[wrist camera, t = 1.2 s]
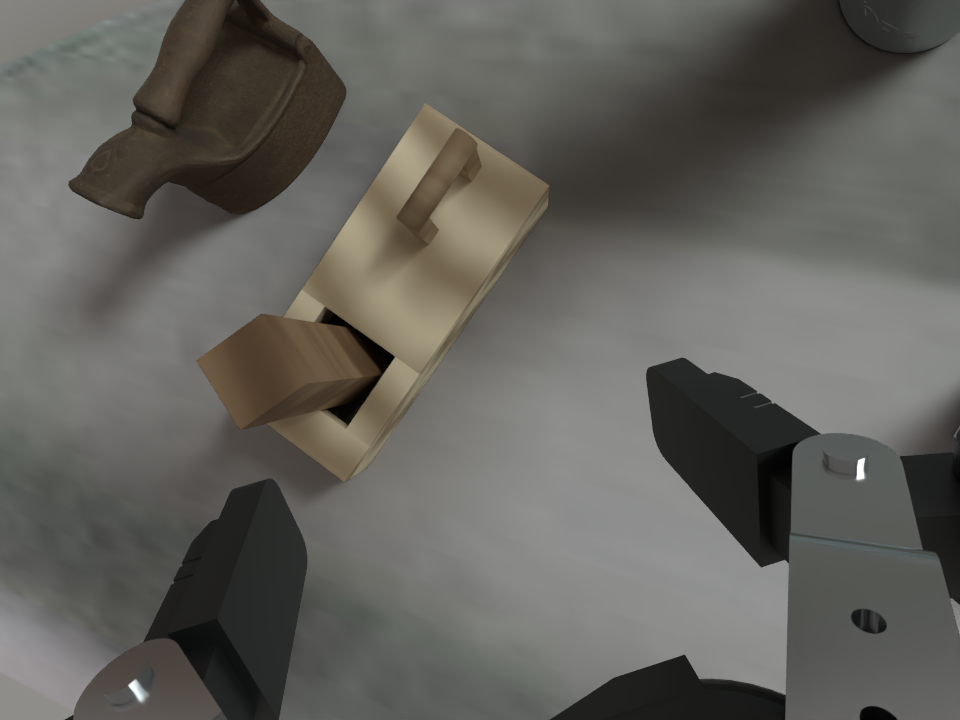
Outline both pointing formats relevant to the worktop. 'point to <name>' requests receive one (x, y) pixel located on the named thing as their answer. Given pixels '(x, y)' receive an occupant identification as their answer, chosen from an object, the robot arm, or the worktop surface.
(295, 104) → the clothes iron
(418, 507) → the worktop surface
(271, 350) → the walnut key
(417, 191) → the pine toolbox
